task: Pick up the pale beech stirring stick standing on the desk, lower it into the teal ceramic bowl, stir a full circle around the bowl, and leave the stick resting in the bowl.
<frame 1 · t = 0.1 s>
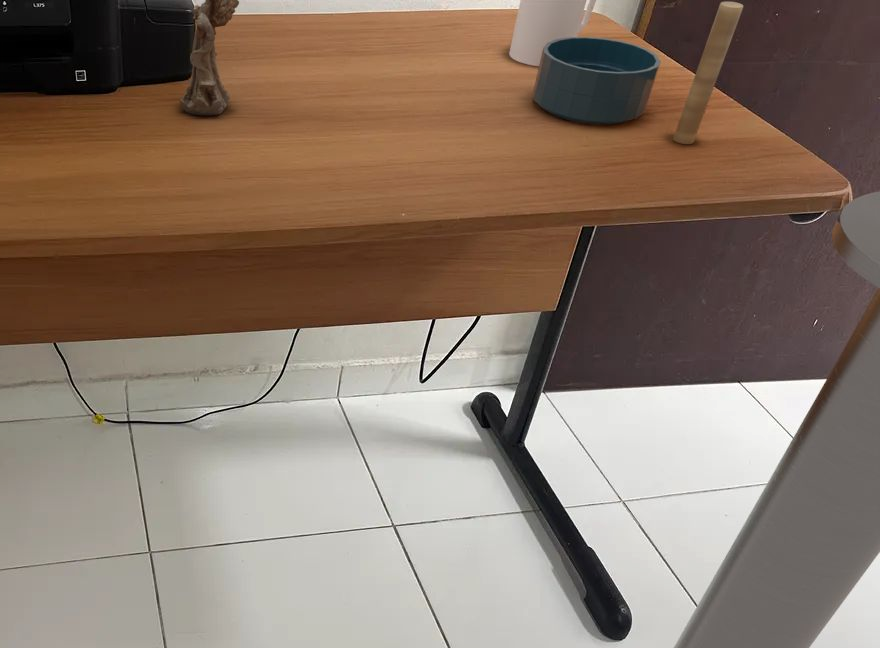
bowl: (586, 106, 108), on the table
figurine: (208, 109, 105), on the table
stick: (683, 140, 101), on the table
cup: (550, 56, 122), on the table
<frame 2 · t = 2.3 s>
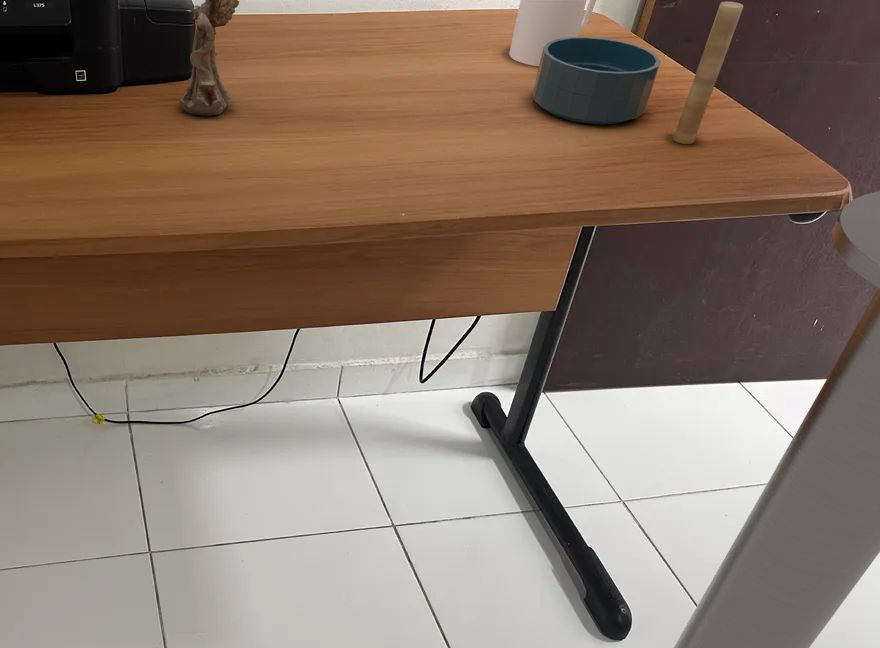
nothing on the table moved.
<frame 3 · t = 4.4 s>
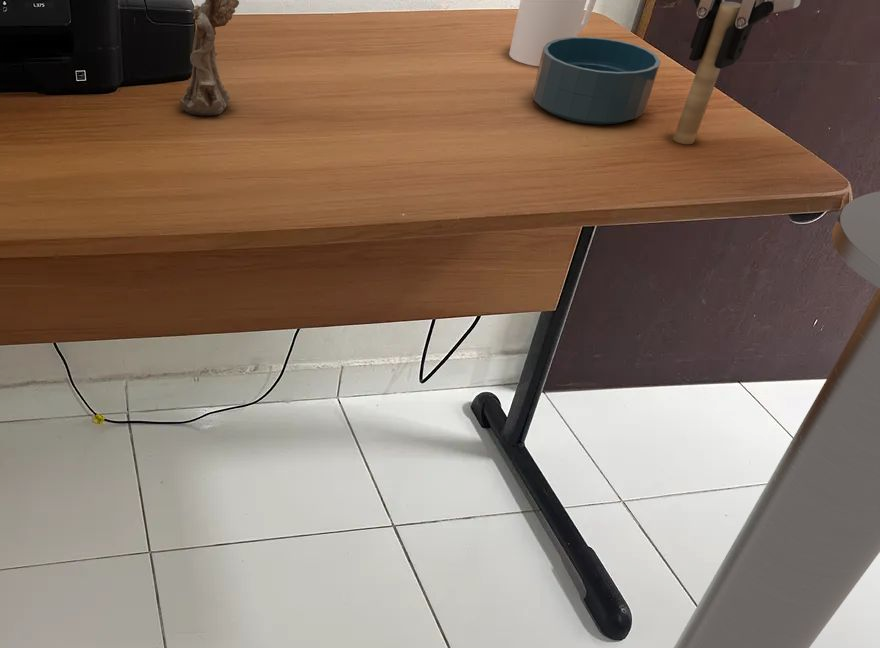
hand: (711, 60, 95), 9 cm above the table, tool pointing down, fingers closed on stick, 2 cm apart
stick: (683, 140, 101), on the table, touching gripper
everything else where it was.
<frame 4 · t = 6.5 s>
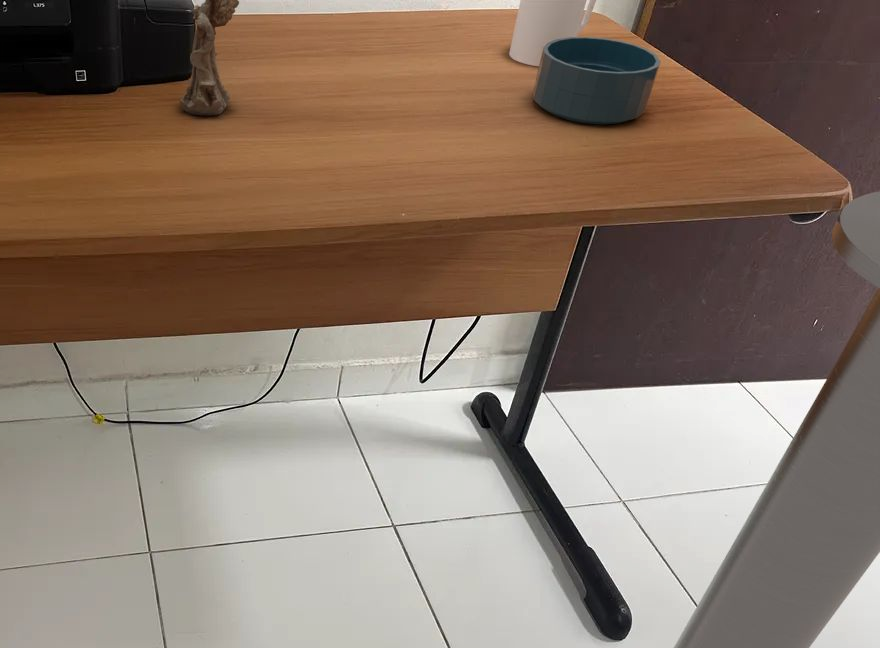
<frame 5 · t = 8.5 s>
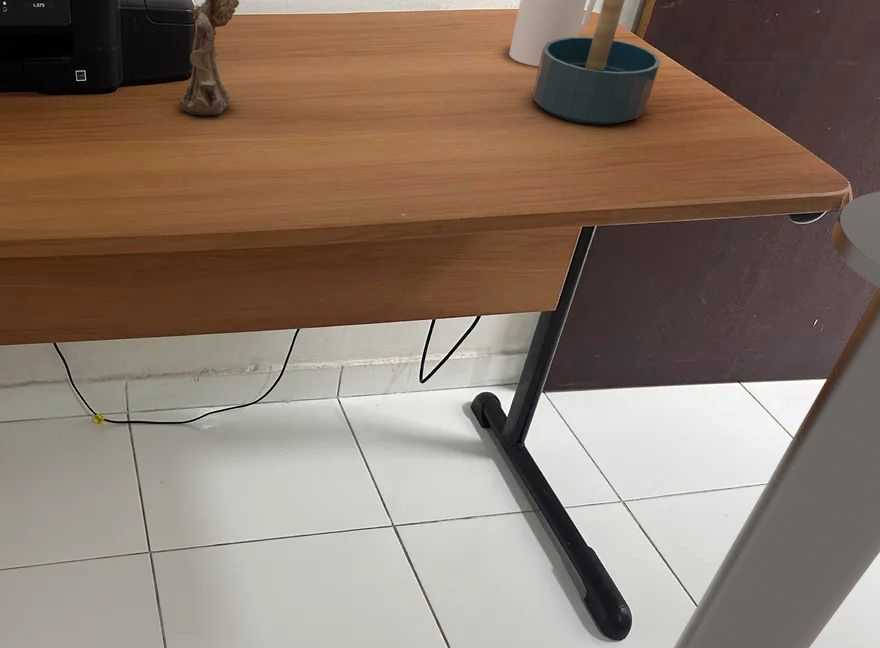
stick: (594, 69, 105), point 4 cm above the table, touching gripper
everything else where it was.
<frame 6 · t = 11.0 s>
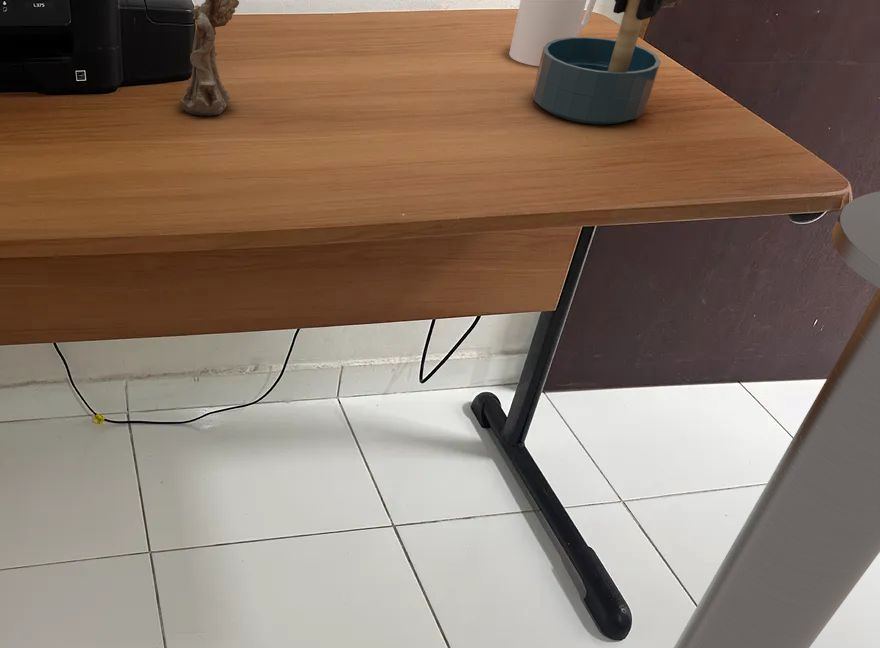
hand: (634, 12, 100), 11 cm above the table, tool pointing down, fingers closed on stick, 2 cm apart
stick: (611, 91, 106), point 2 cm above the table, touching gripper
everything else where it was.
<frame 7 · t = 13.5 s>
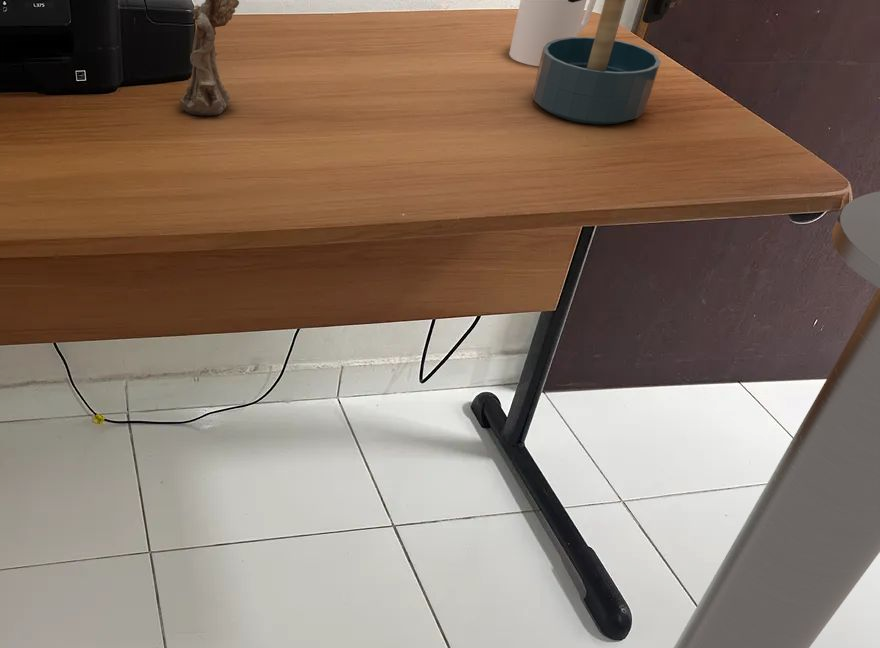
hand: (613, 10, 101), 11 cm above the table, tool pointing down, fingers open, 9 cm apart
stick: (587, 101, 108), point 1 cm above the table, touching bowl
everything else where it was.
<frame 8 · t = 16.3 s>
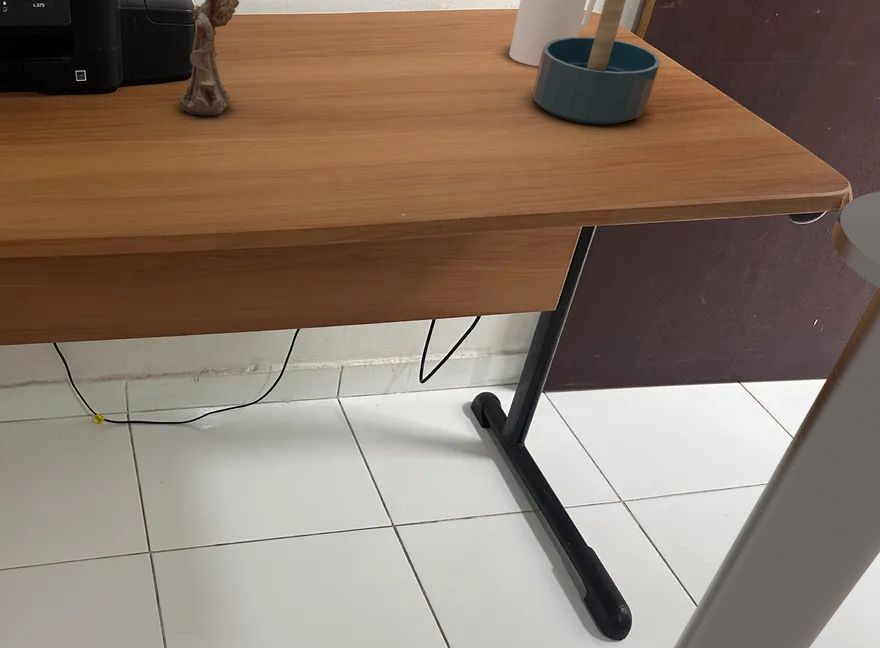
nothing on the table moved.
at the end: stick inside the target area in the bowl (0.1 cm from its centre), point 0.6 cm above the bowl's base; the gripper is holding nothing; stick moved 12.9 cm from its start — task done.
